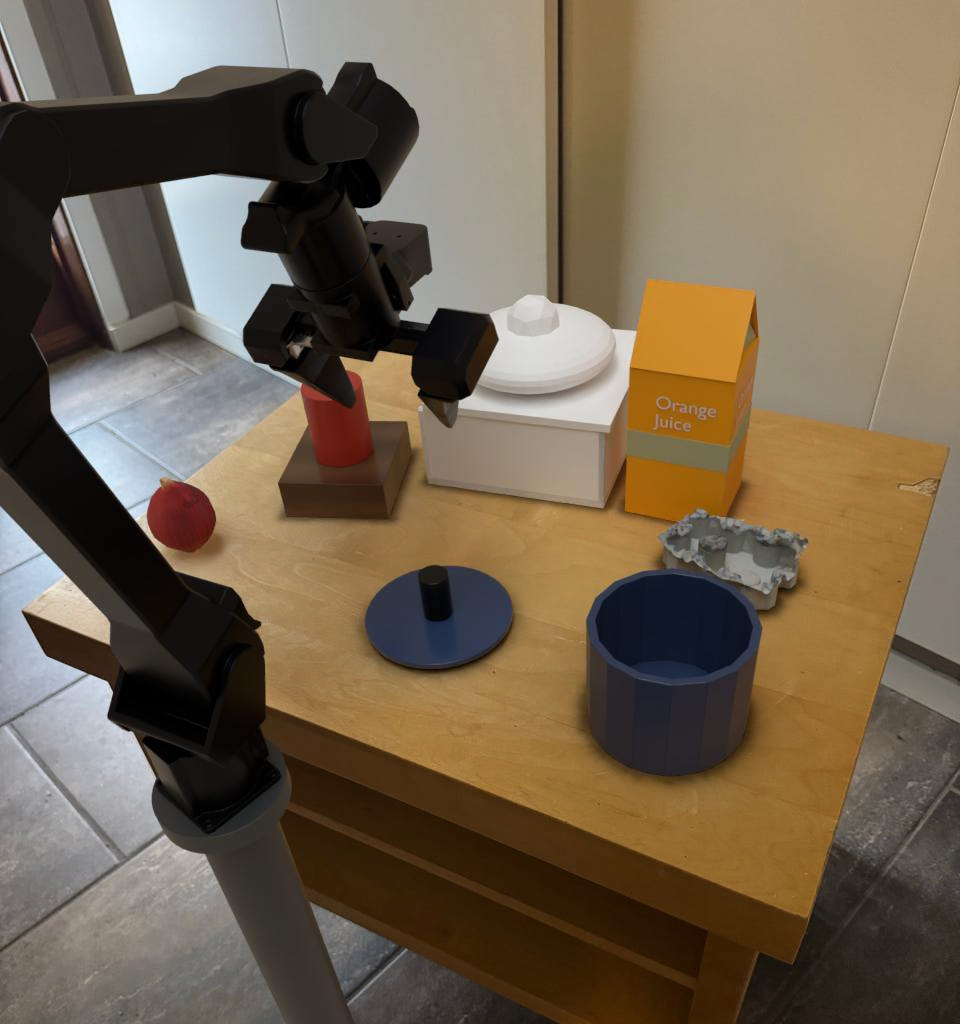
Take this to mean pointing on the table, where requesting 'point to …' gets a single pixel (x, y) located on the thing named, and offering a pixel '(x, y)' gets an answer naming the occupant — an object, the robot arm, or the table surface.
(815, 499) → the table surface
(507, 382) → the white box with dome
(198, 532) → the onion
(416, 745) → the table surface
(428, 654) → the lid
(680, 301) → the orange juice
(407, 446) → the block
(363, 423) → the tomato can
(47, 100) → the robot arm
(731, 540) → the egg carton
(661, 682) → the pot
